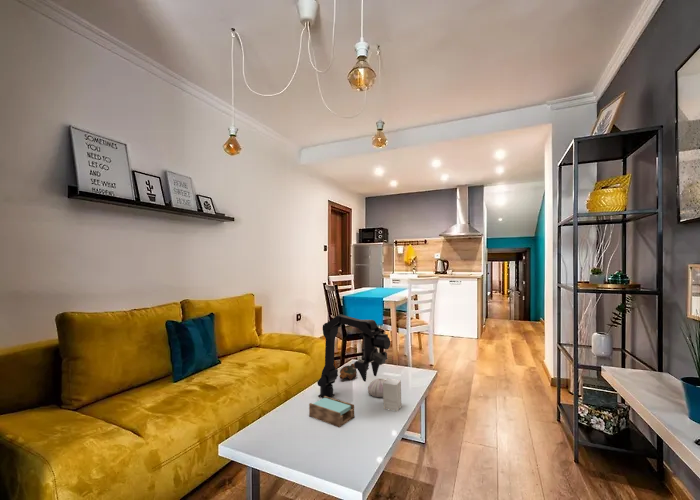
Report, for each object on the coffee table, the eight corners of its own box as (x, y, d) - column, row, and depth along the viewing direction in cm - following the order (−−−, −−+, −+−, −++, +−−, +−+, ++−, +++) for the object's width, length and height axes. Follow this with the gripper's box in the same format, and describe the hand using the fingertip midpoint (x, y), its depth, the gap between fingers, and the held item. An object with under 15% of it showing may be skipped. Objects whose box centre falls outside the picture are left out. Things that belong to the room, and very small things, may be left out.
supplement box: (401, 405, 161) (401, 380, 161) (397, 412, 154) (397, 385, 155) (387, 403, 164) (387, 378, 164) (382, 409, 157) (382, 382, 158)
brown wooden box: (309, 416, 151) (309, 403, 151) (324, 407, 159) (324, 395, 160) (339, 427, 140) (339, 413, 140) (354, 417, 149) (354, 404, 149)
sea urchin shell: (389, 400, 168) (389, 384, 168) (364, 397, 172) (364, 382, 172) (394, 391, 180) (394, 376, 181) (371, 388, 184) (370, 374, 185)
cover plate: (312, 407, 151) (312, 403, 151) (324, 400, 158) (324, 397, 158) (339, 416, 142) (339, 412, 142) (351, 409, 148) (350, 405, 149)
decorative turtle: (361, 376, 205) (361, 363, 205) (348, 385, 192) (348, 372, 192) (348, 372, 210) (348, 360, 210) (335, 381, 198) (335, 368, 197)
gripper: (373, 353, 146) (373, 388, 145) (393, 344, 161) (394, 376, 160) (353, 349, 153) (353, 383, 152) (374, 341, 168) (375, 372, 167)
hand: (370, 378), depth 158 cm, fingers open, 9 cm apart
